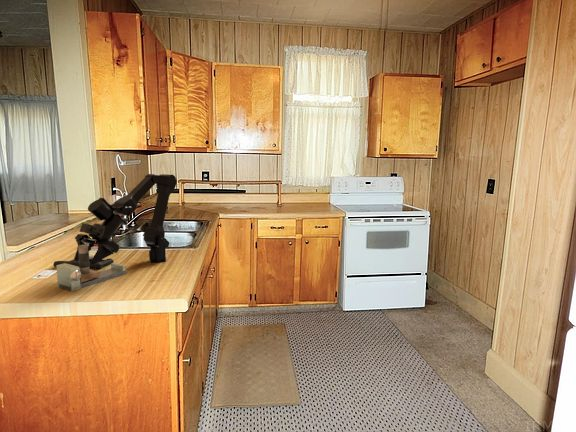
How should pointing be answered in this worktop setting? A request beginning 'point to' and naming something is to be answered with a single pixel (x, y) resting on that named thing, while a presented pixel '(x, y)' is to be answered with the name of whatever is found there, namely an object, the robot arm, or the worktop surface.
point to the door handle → (95, 266)
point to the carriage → (86, 265)
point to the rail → (71, 276)
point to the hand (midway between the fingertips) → (82, 262)
